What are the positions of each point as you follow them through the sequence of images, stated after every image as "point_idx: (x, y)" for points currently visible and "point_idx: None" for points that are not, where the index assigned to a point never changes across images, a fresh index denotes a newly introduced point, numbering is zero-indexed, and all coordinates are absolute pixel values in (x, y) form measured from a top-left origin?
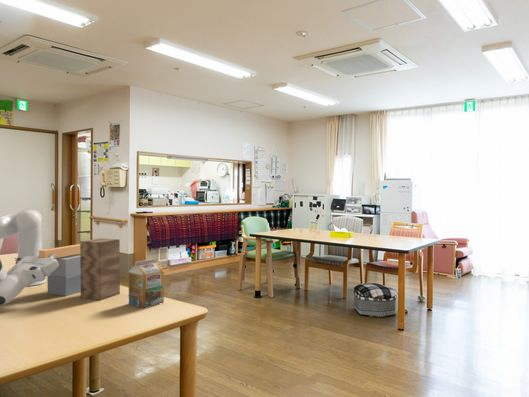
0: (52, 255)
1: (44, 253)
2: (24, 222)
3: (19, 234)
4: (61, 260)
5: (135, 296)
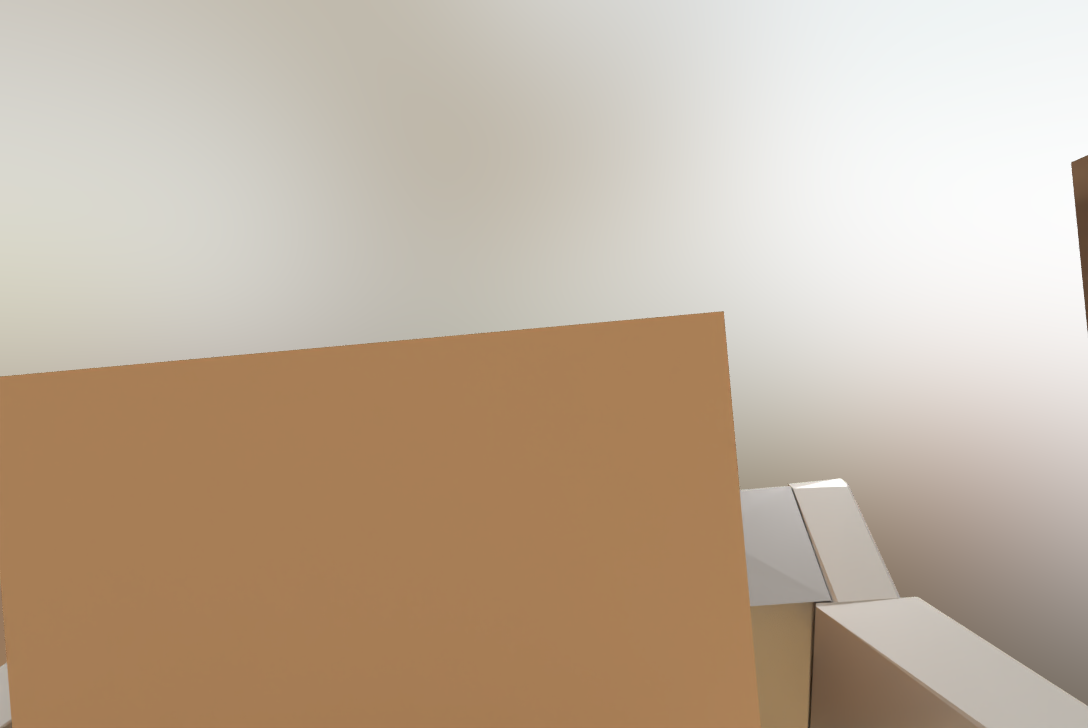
0: (888, 611)
1: (668, 535)
2: None
3: None
4: None
5: None
